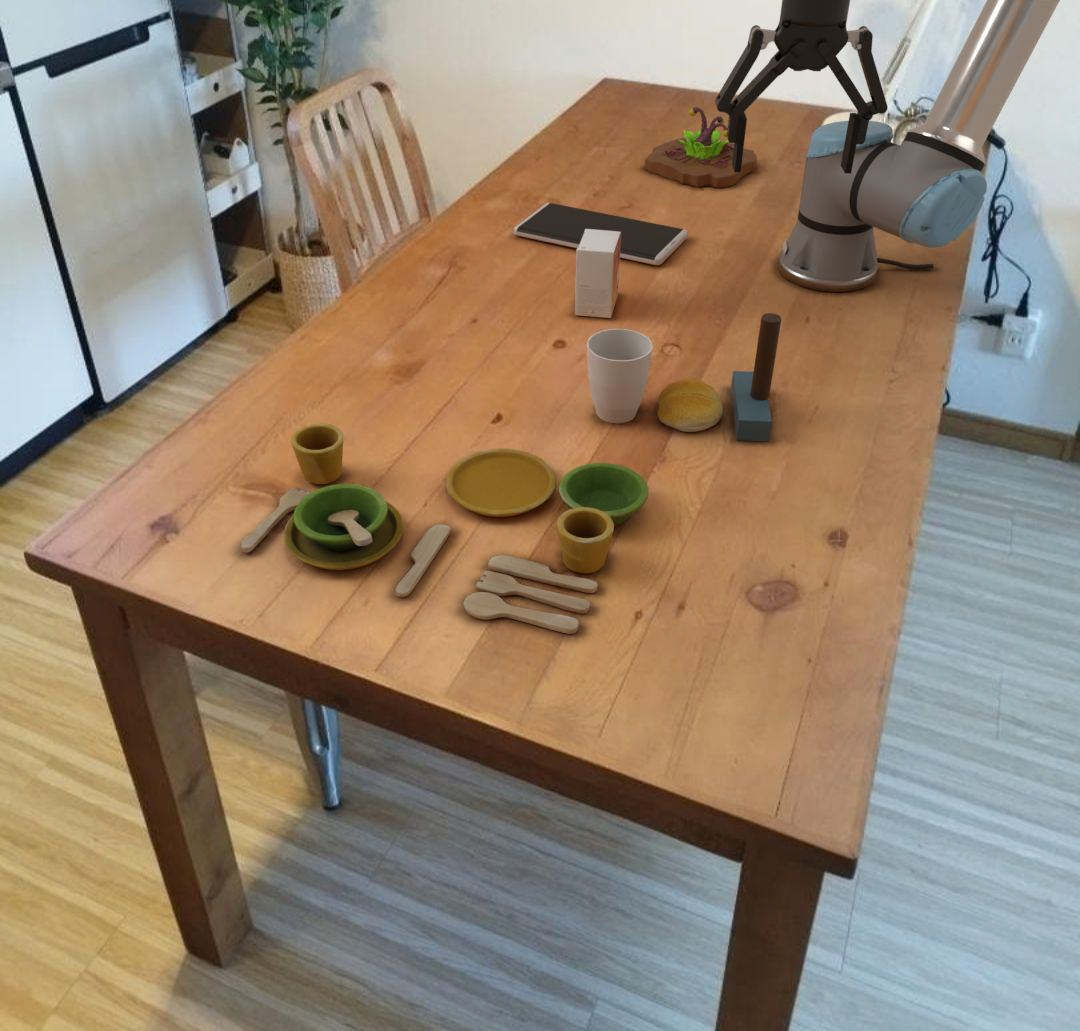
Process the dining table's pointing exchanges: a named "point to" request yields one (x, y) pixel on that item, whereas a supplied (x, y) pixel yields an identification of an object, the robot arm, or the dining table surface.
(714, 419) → the bread roll
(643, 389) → the cup
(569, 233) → the smartphone
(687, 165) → the plant
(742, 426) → the hammer
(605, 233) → the small box
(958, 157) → the robot arm
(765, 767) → the dining table surface
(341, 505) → the tableware set
